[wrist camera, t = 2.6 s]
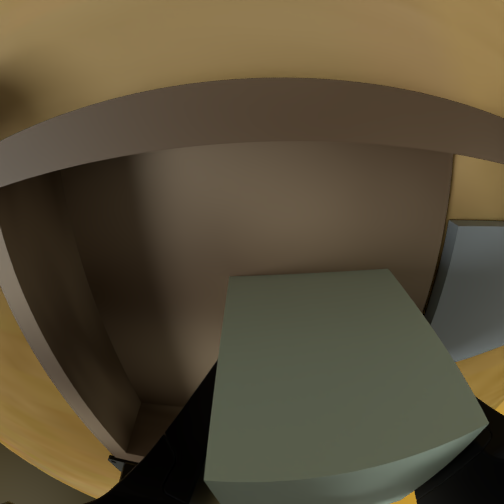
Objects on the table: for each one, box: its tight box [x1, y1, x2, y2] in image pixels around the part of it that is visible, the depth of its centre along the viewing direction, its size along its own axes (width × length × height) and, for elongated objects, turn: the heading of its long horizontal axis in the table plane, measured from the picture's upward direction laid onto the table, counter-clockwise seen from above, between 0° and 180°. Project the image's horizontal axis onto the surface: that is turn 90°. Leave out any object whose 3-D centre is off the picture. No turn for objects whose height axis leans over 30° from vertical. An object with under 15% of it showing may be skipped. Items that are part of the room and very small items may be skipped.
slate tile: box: [424, 220, 504, 362], centre depth 9 cm, size 7×7×1 cm
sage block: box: [204, 269, 489, 504], centre depth 7 cm, size 5×5×6 cm
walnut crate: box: [0, 78, 504, 463], centre depth 8 cm, size 13×13×3 cm
